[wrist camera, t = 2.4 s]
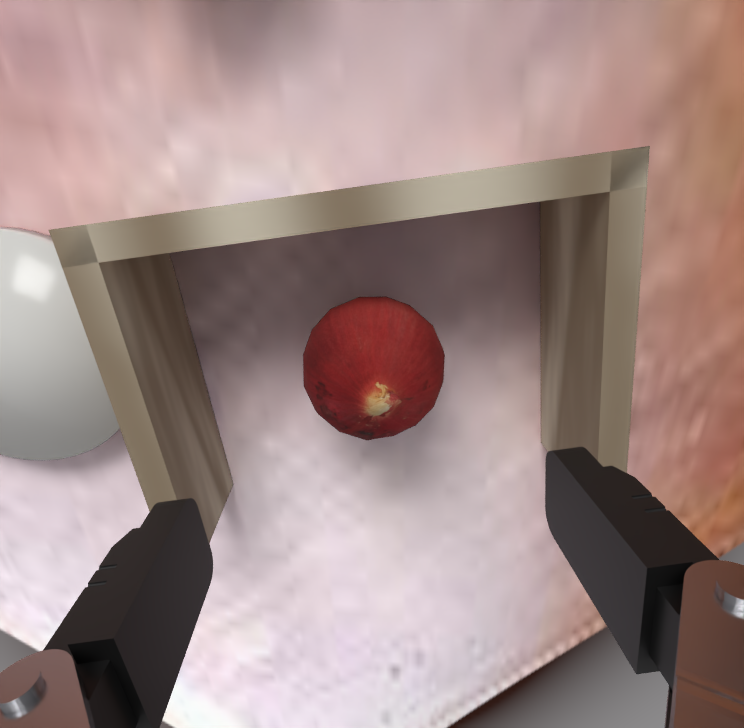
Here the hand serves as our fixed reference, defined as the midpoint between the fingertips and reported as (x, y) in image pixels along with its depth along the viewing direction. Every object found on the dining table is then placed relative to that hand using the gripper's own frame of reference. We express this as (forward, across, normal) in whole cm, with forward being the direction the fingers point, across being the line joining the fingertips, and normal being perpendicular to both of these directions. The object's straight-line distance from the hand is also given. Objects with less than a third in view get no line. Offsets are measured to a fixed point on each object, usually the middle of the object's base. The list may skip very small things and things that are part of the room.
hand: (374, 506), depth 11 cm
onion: (+13, 0, 0) cm, 13 cm away
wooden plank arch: (+13, 0, 0) cm, 13 cm away
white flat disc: (+13, +16, -2) cm, 20 cm away
